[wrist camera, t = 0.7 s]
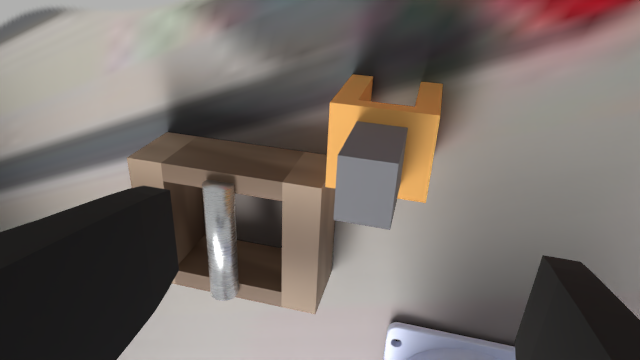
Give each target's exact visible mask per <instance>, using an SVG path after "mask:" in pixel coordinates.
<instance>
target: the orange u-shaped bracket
mask: <svg viewBox="0 0 640 360" xmlns="http://www.w3.org/2000/svg"><path fill="white" fill-rule="evenodd" d="M372 84H373V76H364V75H354V74H352V76H351V77H350V78H349V79H348V81H347V82H346V83H345V84H344V86H343V87H342V88H341V89H340V91H339V92H338V93H337V94H336V96H335V97H334V98H333V99H332V100H331V102H330V109H329V128H328V146H327V164H326V183H325V187H328V188H335V203H334V218H333V220H336V221H342V222H348V223H353V224H359V225H365V226H371V227H377V228H382V229H388V230H390V228H391V223H392V219H393V214H394V210H395V206H396V201H397V198H398V199H404V200H411V201H417V202H423V203H426V199H427V193H428V187H429V181H430V175H431V169H432V163H433V157H434V151H435V145H436V139H437V133H438V127H439V121H440V114H441V102H442V90H443V84H439V83H430V82H421V84H420V88H419V92H418V96H417V100H416V104H415V107H413V106H405V105H396V104H388V103H379V102H371V95H372Z"/></svg>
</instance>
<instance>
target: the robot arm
mask: <svg viewBox="0 0 640 360" xmlns="http://www.w3.org/2000/svg"><path fill="white" fill-rule="evenodd" d="M178 271H179V265H178V256H177V247H176V239H175V230H174V221H173V212H172V203H171V194H170V190H167V189H161V188H155V187H150V186H144V185H143V186H139V187H135V188H131V189H127V190H124V191H121V192H117V193H114V194H111V195H108V196H105V197H102V198H99V199H96V200H93V201H91V202H88V203H85V204H82V205H79V206H76V207H73V208H71V209H68V210H65V211H62V212H59V213H56V214H54V215H51V216H48V217H45V218H42V219H39V220H36V221H34V222H31V223H27V224H24V225H21V226H18V227H15V228H12V229H9V230H6V231H3V232H0V360H117V358H118V357H119V356H120V355H121V353H122V352H123V351H124V350H125V348H126V347H127V346H128V345H129V344H130V342H131V341H132V340H133V338H134V337H135V336H136V335H137V333H138V332H139V331H140V330H141V328H142V327H143V326H144V324H145V323H146V322H147V321H148V319H149V318H150V317H151V315H152V314H153V313H154V311H155V310H156V308H157V307H158V305H159V304H160V302H161V300H162V299H163V297H164V296H165V294H166V292H167V291H168V289H169V287H170V285H171V284H172V282H173V280H174V278H175V277H176V275H177V273H178ZM393 339H398V340H400V341H395V340H393ZM383 360H640V320H639V319H638V318H637V317H636V316H635V315H634V314H633V313H632V312H631V311H630V310H629V309H628V308H627V307H626V306H625V305H624V304H623V303H622V302H621V301H620V300H619V299H618V298H617V297H616V296H615V295H614V294H613V293H612V292H611V291H610V290H609V289H608V288H607V287H606V286H605V285H604V284H603V283H602V282H601V281H600V280H599V279H598V278H597V277H596V276H595V275H594V274H593V273H592V272H591V271H590V270H589V269H588V268H587V267H586V266H585V265H583V264H582V263H581V262H578V261H572V260H566V259H561V258H555V257H549V256H543V257H542V260H541V263H540V266H539V269H538V272H537V275H536V278H535V281H534V284H533V287H532V290H531V293H530V296H529V300H528V303H527V306H526V309H525V312H524V315H523V318H522V321H521V324H520V327H519V330H518V333H517V336H516V339H515V347H514V346H509V345H504V344H500V343H495V342H490V341H485V340H481V339H476V338H471V337H466V336H462V335H457V334H452V333H447V332H443V331H438V330H433V329H429V328H424V327H419V326H414V325H410V324H405V323H400V322H394V323H391V324H390V325H389V327H388V330H387V337H386V343H385V350H384V357H383Z"/></svg>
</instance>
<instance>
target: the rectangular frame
mask: <svg viewBox="0 0 640 360" xmlns="http://www.w3.org/2000/svg"><path fill="white" fill-rule="evenodd" d="M127 161H128V167H129V174H130V180H131V186H132V188H135V187H139V186H143V185H144V186H150V187H155V188H161V189H167V190H170V194H171V203H172V212H173V221H174V230H175V239H176V247H177V256H178V265H179V271H178V273H177V275H176V277H175V278H174V280H173V282H172V284H177V285H182V286H186V287H191V288H196V289H200V290H205V291H210V292H211V296H212V297H213V298H215V299H217V300H222V301H225V300H230V299H232V298H234V297H237V298H242V299H247V300H251V301H256V302H261V303H265V304H270V305H275V306H279V307H284V308H289V309H293V310H298V311H302V312H307V313H312V314H316V311H317V309H318V306H319V303H320V301H321V298H322V295H323V293H324V290H325V287H326V285H327V282H328V279H329V277H330V274H331V271H332V257H333V242H334V227H335V220H333V218H334V203H335V188H328V187H325V183H326V164H327V155H324V154H317V153H310V152H303V151H296V150H289V149H282V148H275V147H268V146H261V145H254V144H247V143H240V142H233V141H226V140H219V139H212V138H205V137H198V136H191V135H184V134H177V133H170V132H166V133H165V134H163V135H162V136H160V137H159V138H157V139H155V140H154V141H152V142H151V143H149V144H148V145H146V146H144V147H143V148H141V149H140V150H138V151H137V152H135V153H134V154H132V155H130V156H129V157H127ZM202 192H203V200H202ZM235 193H237V194H243V195H248V196H254V197H260V198H266V199H272V200H278V201H282V248H277V247H272V246H266V245H261V244H256V243H251V242H245V241H240V240H237V235H236V213H235ZM203 204H204V213H203ZM204 217H205V225H204ZM205 229H206V234H205Z"/></svg>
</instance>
